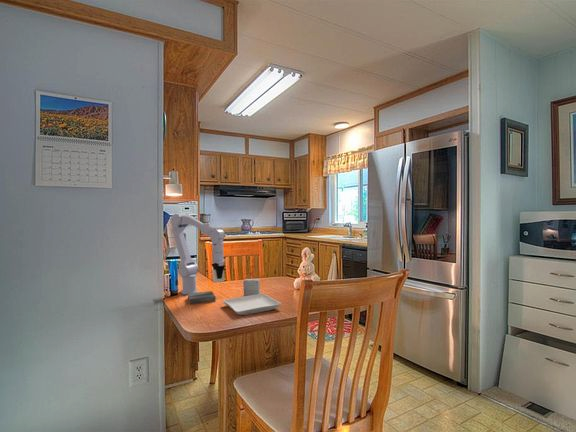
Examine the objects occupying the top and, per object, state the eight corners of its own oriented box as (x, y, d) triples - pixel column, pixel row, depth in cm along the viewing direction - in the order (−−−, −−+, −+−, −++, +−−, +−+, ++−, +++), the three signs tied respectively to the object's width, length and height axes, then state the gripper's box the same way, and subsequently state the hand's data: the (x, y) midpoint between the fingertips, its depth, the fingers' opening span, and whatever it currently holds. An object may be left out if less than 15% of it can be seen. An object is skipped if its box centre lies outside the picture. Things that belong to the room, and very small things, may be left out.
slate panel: (188, 299, 166) (187, 293, 166) (211, 296, 170) (211, 291, 170) (190, 305, 155) (190, 299, 155) (215, 302, 159) (215, 296, 159)
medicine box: (260, 295, 169) (259, 278, 169) (258, 297, 165) (258, 280, 165) (245, 295, 170) (245, 278, 170) (243, 297, 166) (243, 280, 165)
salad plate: (236, 319, 132) (236, 311, 132) (222, 306, 151) (222, 299, 151) (282, 310, 142) (282, 303, 142) (263, 300, 161) (263, 293, 161)
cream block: (213, 280, 172) (212, 269, 172) (222, 279, 174) (222, 268, 174) (214, 282, 168) (214, 271, 168) (224, 281, 170) (224, 270, 170)
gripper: (228, 253, 166) (229, 279, 166) (222, 250, 179) (223, 274, 179) (214, 253, 163) (215, 280, 163) (209, 251, 176) (210, 275, 176)
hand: (218, 277), depth 171 cm, fingers closed on cream block, 5 cm apart
